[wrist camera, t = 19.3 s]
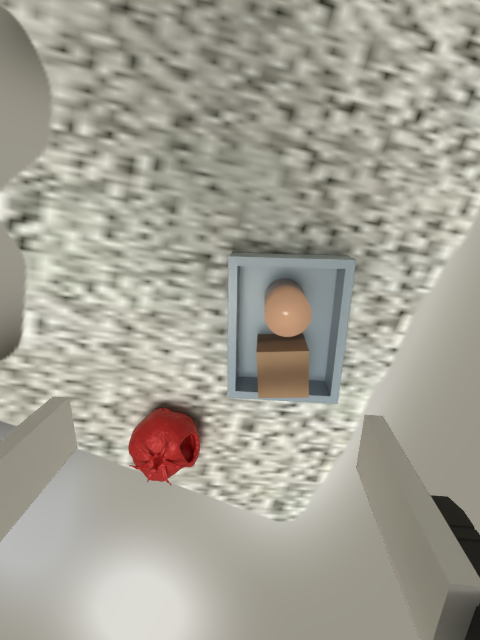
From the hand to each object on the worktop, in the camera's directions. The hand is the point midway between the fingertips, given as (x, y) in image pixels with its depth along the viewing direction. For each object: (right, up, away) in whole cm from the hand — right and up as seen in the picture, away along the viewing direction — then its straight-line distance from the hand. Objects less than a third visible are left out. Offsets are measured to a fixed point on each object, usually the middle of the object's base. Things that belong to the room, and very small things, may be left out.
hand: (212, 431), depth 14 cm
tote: (+7, +5, +28) cm, 29 cm away
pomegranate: (-9, -12, +35) cm, 38 cm away
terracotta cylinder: (+7, +8, +26) cm, 28 cm away
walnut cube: (+7, 0, +29) cm, 30 cm away
